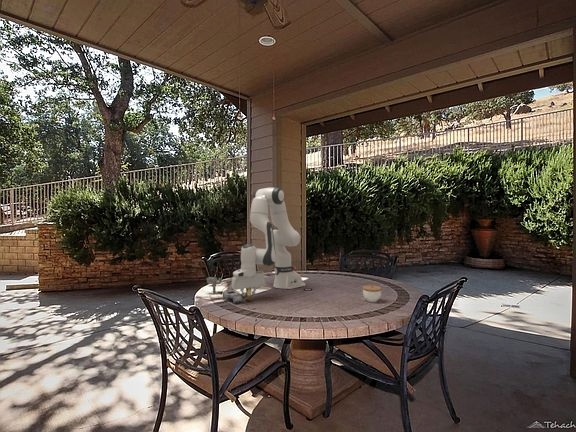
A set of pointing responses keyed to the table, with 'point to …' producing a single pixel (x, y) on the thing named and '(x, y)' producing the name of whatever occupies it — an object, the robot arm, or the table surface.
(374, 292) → the lidded jar
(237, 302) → the chain ends
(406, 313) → the table surface
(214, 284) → the mechanical component
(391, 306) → the table surface
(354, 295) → the table surface
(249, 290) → the brass pin
